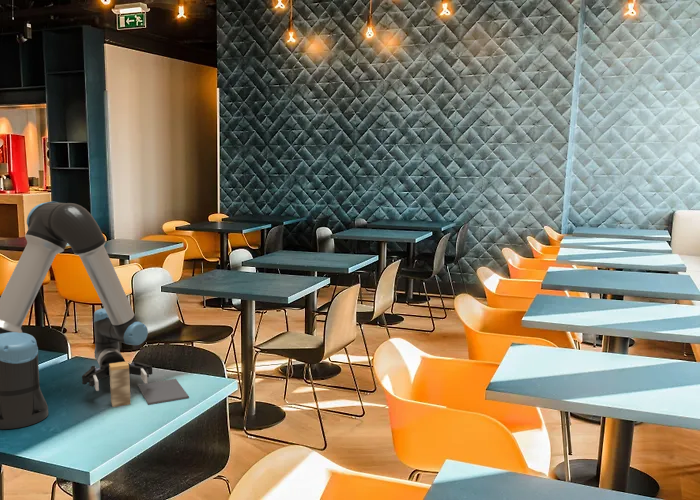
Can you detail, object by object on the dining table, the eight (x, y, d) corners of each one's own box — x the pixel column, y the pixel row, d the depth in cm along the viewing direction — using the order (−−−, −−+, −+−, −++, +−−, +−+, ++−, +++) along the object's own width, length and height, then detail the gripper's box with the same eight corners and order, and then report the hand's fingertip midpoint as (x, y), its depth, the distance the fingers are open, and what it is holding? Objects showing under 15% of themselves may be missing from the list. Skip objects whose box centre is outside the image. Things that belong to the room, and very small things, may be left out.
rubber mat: (148, 404, 188) (148, 402, 188) (137, 386, 203) (137, 384, 203) (188, 398, 193) (188, 396, 193) (175, 380, 209) (175, 378, 209)
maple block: (112, 407, 186) (110, 367, 184) (111, 402, 189) (109, 363, 188) (130, 404, 188) (128, 365, 187) (128, 399, 192) (126, 361, 190)
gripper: (152, 368, 211) (165, 387, 193) (70, 380, 200) (76, 402, 181) (151, 346, 210) (164, 364, 192) (69, 356, 199) (75, 376, 180)
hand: (122, 382), depth 186 cm, fingers open, 13 cm apart
